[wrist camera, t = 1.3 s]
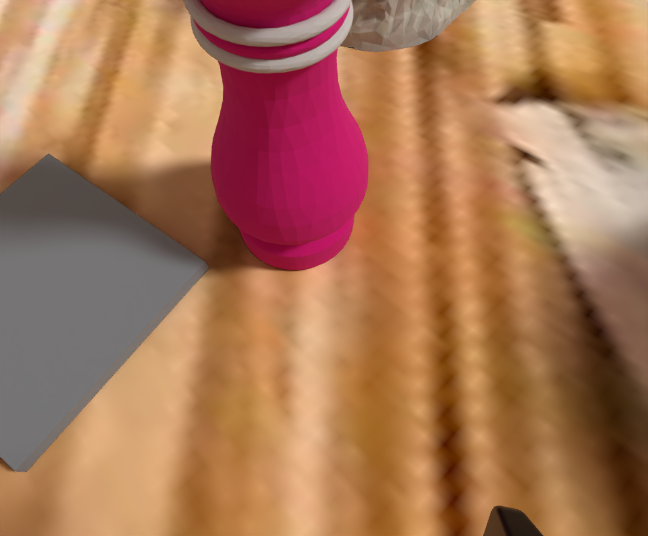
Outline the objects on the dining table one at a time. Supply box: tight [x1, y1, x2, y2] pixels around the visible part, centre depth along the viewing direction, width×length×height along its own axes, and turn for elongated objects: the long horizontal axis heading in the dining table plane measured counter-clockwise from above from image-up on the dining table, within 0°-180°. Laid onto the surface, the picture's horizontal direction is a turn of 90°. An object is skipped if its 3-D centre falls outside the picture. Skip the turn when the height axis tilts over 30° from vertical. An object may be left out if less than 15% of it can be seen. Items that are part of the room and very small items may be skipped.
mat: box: [0, 154, 209, 472], centre depth 23 cm, size 12×12×1 cm
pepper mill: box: [184, 0, 368, 270], centre depth 17 cm, size 7×7×20 cm
